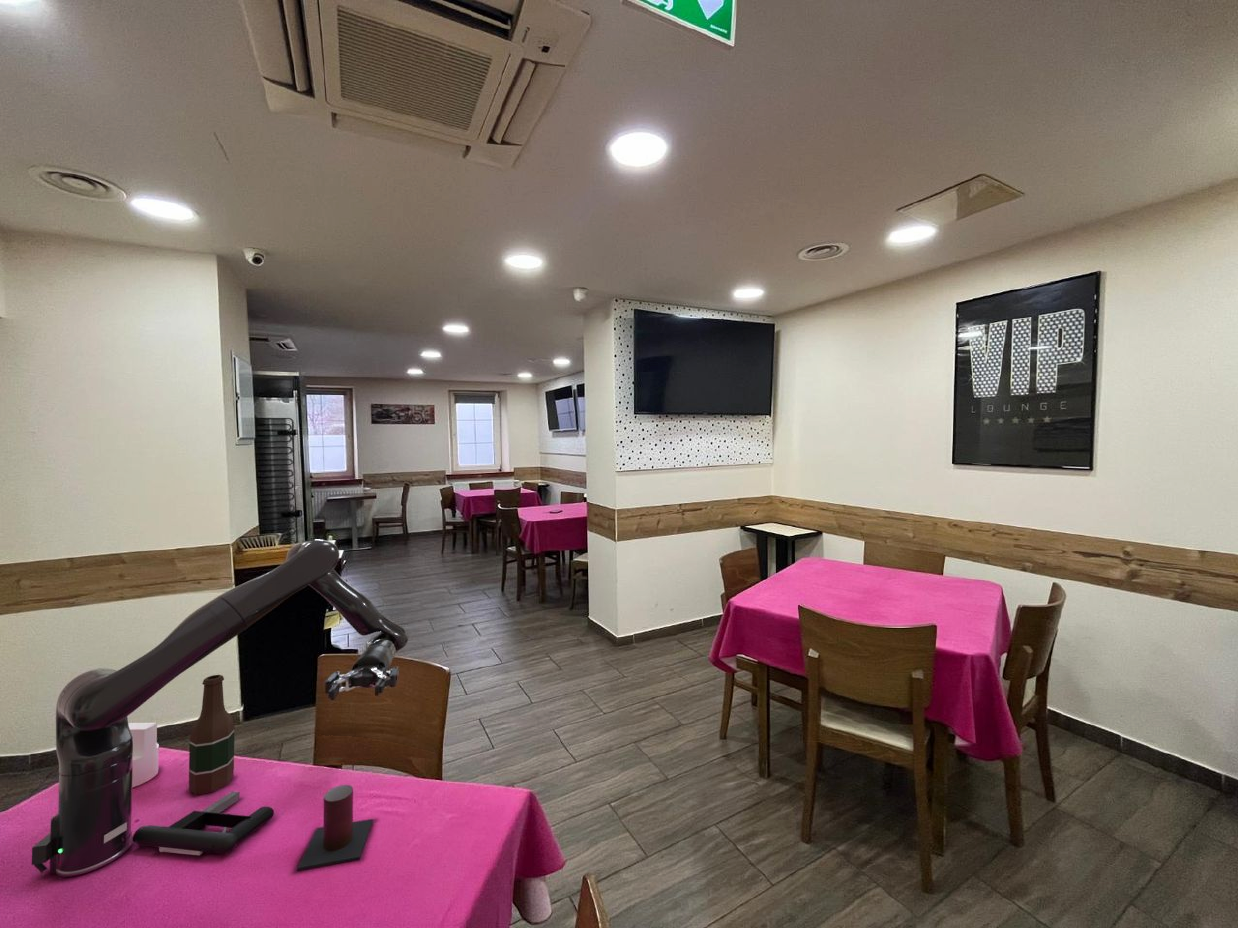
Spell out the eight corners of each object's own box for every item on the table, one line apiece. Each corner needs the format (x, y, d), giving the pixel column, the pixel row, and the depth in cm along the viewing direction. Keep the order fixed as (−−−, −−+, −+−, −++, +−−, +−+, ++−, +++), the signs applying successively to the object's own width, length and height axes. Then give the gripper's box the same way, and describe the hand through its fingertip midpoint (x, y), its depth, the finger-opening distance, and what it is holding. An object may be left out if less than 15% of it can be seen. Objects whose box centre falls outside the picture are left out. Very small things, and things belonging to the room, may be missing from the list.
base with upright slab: (169, 766, 116) (170, 716, 116) (131, 791, 107) (132, 736, 107) (130, 767, 116) (131, 716, 116) (90, 792, 107) (91, 736, 107)
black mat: (297, 870, 85) (297, 867, 85) (317, 830, 95) (317, 827, 95) (359, 859, 88) (359, 856, 88) (373, 821, 97) (372, 818, 97)
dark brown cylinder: (319, 853, 89) (320, 803, 89) (328, 834, 93) (328, 786, 93) (348, 847, 90) (349, 798, 90) (355, 829, 94) (356, 782, 95)
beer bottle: (233, 769, 115) (234, 667, 115) (234, 785, 109) (235, 677, 109) (189, 782, 110) (191, 676, 110) (187, 800, 104) (189, 687, 104)
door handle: (208, 785, 105) (124, 835, 89) (292, 792, 103) (221, 845, 87) (207, 801, 105) (123, 854, 89) (291, 809, 102) (220, 865, 86)
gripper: (341, 651, 117) (317, 678, 101) (404, 646, 120) (391, 672, 104) (340, 683, 116) (316, 715, 101) (404, 677, 120) (390, 707, 104)
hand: (354, 693), depth 103 cm, fingers open, 8 cm apart
